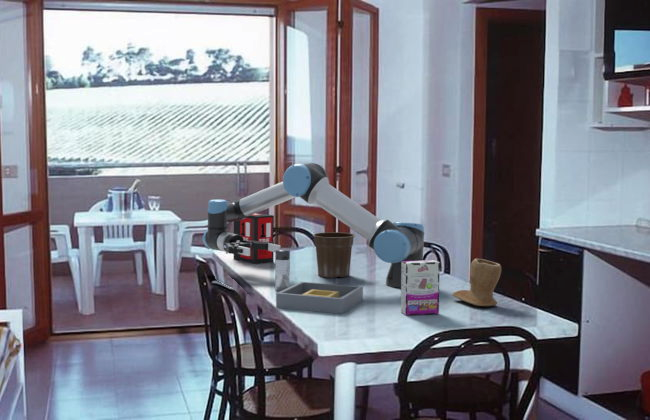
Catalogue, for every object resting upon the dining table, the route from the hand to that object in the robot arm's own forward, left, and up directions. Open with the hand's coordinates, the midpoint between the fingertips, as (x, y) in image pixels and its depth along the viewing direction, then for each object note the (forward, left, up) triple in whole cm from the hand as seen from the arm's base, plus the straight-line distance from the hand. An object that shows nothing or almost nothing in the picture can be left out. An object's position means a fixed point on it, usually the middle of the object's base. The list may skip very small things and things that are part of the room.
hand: (264, 250), depth 293 cm
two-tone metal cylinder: (-9, +5, -13) cm, 16 cm away
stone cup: (-77, 0, -13) cm, 78 cm away
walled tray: (-29, +21, -13) cm, 38 cm away
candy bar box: (-62, +22, -13) cm, 67 cm away
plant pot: (-16, -30, -13) cm, 36 cm away
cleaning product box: (+27, -50, -13) cm, 58 cm away
